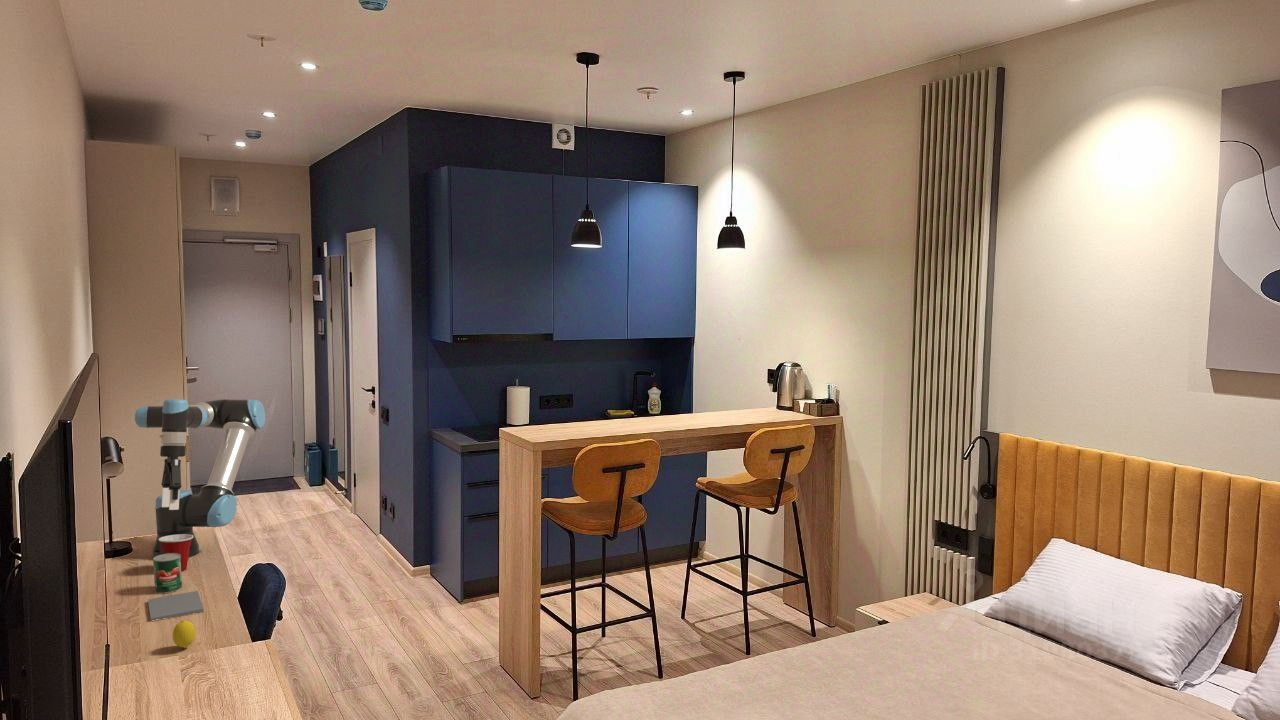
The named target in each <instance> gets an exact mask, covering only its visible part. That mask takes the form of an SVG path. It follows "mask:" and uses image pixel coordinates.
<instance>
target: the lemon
mask: <svg viewBox="0 0 1280 720" xmlns="http://www.w3.org/2000/svg"><path fill="white" fill-rule="evenodd" d="M196 633H197V632H196V628H195V625H194V624H193V623H192V622H191V621H188V620H185V619H183V620H181V621H179V622H178V623H177V624H176V625H175V626H174V628H173V631H172V640H173V642H174V643H173V644H175V645H176V646H177V647H179V648H182V649H187V648H188V647H189V646H190V645H192V644H193V642H194V641H195V639H196Z"/></svg>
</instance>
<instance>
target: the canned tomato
mask: <svg viewBox="0 0 1280 720" xmlns="http://www.w3.org/2000/svg"><path fill="white" fill-rule="evenodd" d="M152 561H153V562H152V563H153V579H154V584H153V585H154V593H156V594H158V593H167V594H171V593H170V592H173V593H175V592H174V591H176V592H178V591H177V590H179V591H181V590H182V589H181V588H183V581H182V580H183V579H182V572H181V559H180V554H177V553H168V554H162V555H158V556H156V557H154V558H153V557H152Z"/></svg>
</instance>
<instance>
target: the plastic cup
mask: <svg viewBox="0 0 1280 720" xmlns="http://www.w3.org/2000/svg"><path fill="white" fill-rule="evenodd" d="M192 538H193V535H188V534H178V535H169V536H164V537H161V538H159V541H160V543H161V547H162V550H163V554H168V553H177V554H180V559H181V571H182V572H184V570H185V571H187V567H188V562H189V550H190V545H191V541H192Z"/></svg>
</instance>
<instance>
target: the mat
mask: <svg viewBox="0 0 1280 720" xmlns="http://www.w3.org/2000/svg"><path fill="white" fill-rule="evenodd" d="M202 603H203V602H202V600H201V596H200V594H199V591H198V590H195V591H188V592H183V593H177V594H171V595H166V596H160V597H155V598H154V597H153V598H148V599H147V605H148V613H149V617H150V618H151V619H150V621H151V620H156V619H163V618H168V619H171V618H170V617H174V618H177V617H176V616H179V617H184V616H183V615H185V616H189V615H188V614H190V615H194V614H193V613H196V614H201V613H204V607H203V604H202ZM200 612H201V613H200ZM163 620H164V619H163Z"/></svg>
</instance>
